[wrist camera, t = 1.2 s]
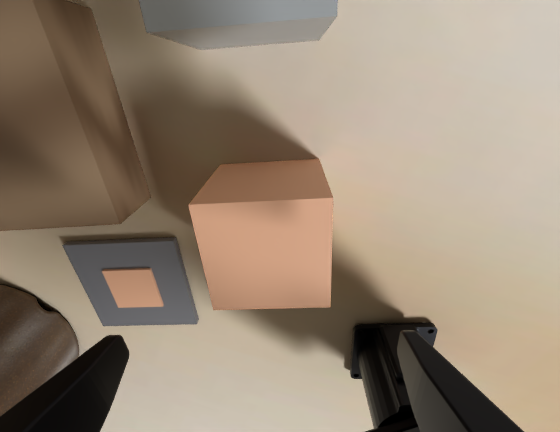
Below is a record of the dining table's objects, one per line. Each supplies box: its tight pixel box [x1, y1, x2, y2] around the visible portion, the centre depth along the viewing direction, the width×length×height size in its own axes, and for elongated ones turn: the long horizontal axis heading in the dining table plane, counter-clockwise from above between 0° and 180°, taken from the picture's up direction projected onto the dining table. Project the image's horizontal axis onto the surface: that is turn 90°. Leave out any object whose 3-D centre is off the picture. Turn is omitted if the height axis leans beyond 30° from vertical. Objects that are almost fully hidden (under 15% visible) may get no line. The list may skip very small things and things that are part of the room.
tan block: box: [0, 0, 151, 231], centre depth 14 cm, size 10×10×4 cm
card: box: [62, 237, 199, 326], centre depth 21 cm, size 8×8×1 cm
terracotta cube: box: [188, 159, 333, 310], centre depth 15 cm, size 6×6×6 cm
